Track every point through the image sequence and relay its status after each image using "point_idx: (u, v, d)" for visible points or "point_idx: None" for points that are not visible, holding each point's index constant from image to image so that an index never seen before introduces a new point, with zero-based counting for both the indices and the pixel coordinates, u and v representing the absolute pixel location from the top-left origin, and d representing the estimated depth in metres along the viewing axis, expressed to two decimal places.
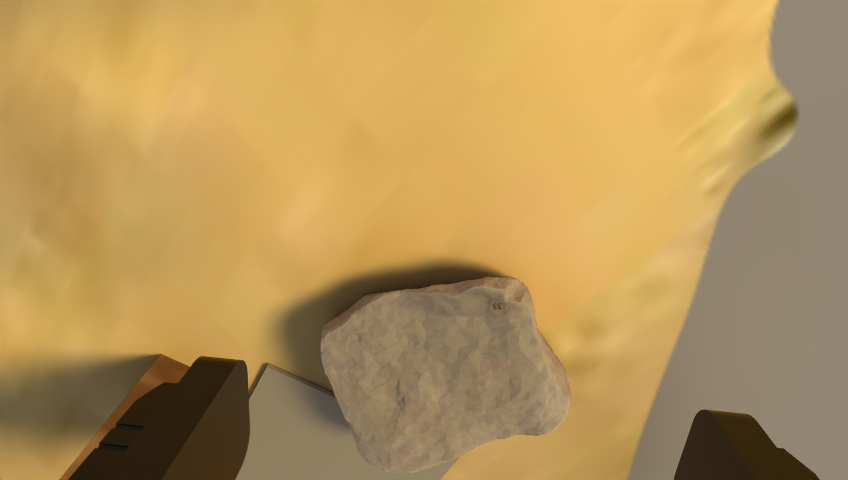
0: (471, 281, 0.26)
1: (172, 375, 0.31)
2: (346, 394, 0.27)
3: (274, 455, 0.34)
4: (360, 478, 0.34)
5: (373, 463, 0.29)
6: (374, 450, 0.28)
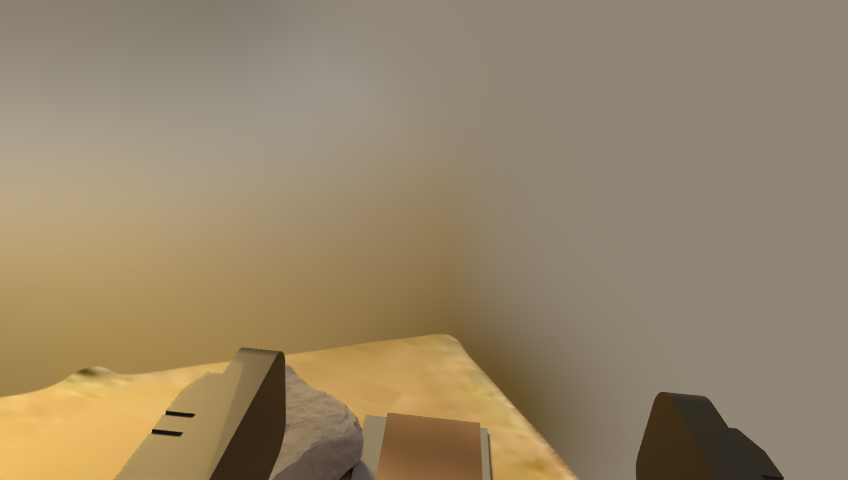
0: None
1: None
2: (287, 458, 0.35)
3: None
4: None
5: (347, 426, 0.37)
6: (327, 424, 0.37)
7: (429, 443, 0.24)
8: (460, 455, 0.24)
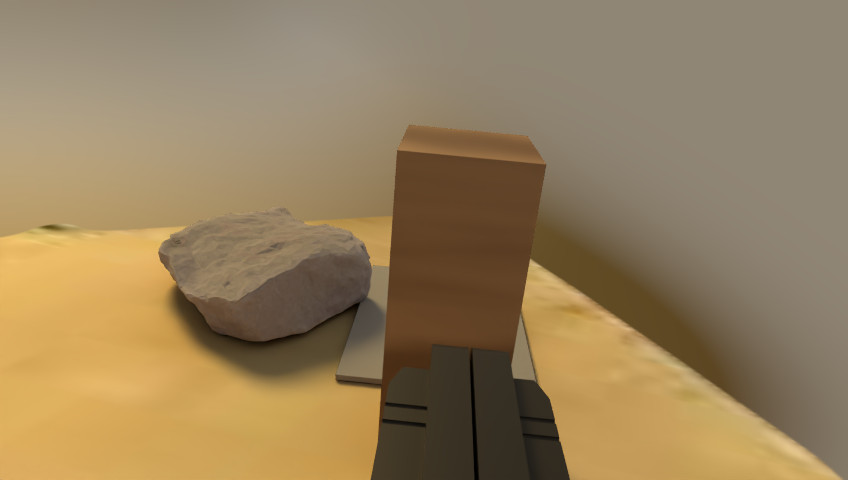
0: (162, 261, 0.32)
1: None
2: (282, 266, 0.29)
3: None
4: None
5: (353, 245, 0.32)
6: (329, 240, 0.31)
7: (466, 138, 0.19)
8: (507, 145, 0.18)
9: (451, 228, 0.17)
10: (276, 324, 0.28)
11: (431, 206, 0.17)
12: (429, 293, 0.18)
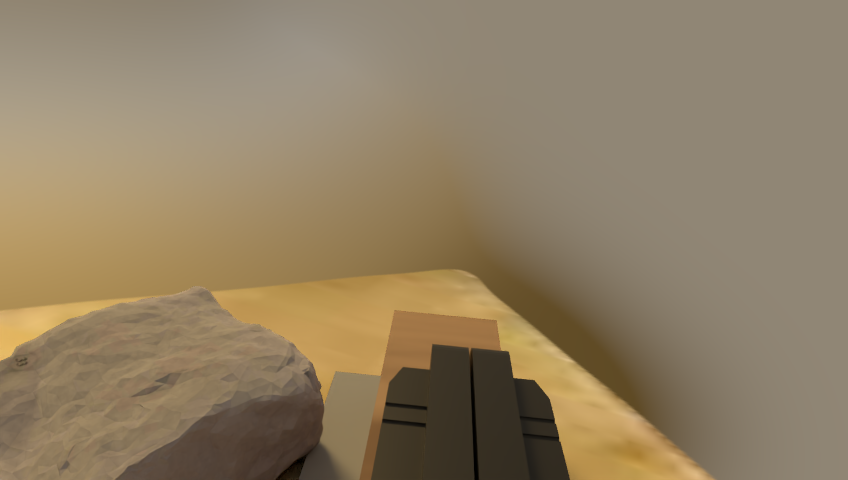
0: None
1: None
2: (160, 433, 0.17)
3: None
4: None
5: (291, 375, 0.20)
6: (251, 372, 0.19)
7: None
8: None
9: (435, 343, 0.21)
10: None
11: (419, 332, 0.22)
12: None
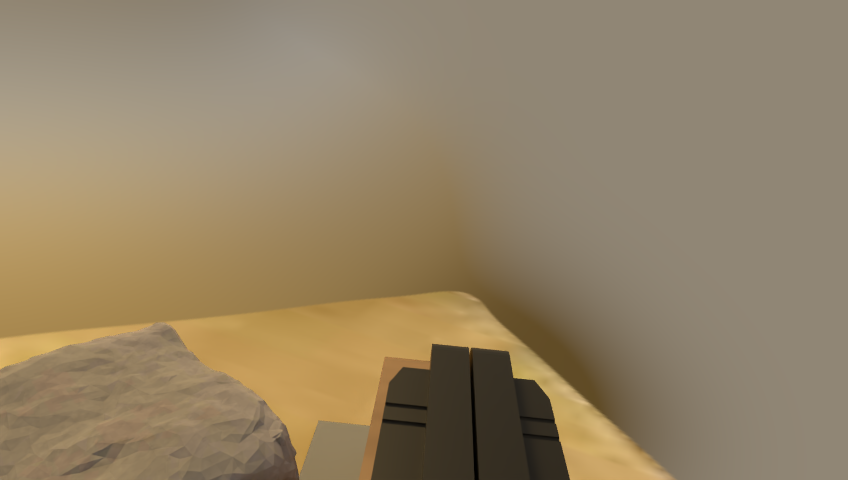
0: None
1: None
2: None
3: None
4: None
5: (258, 446, 0.17)
6: (207, 444, 0.16)
7: None
8: None
9: None
10: None
11: None
12: None
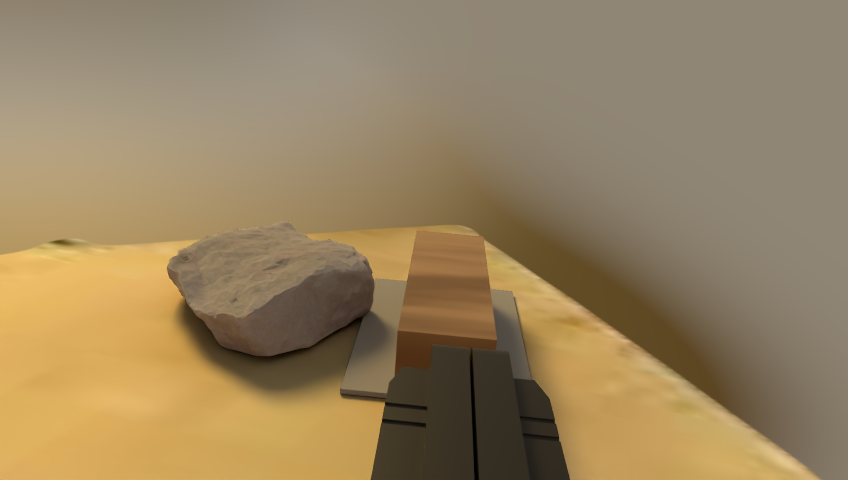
0: (170, 277, 0.33)
1: None
2: (287, 283, 0.30)
3: None
4: None
5: (356, 261, 0.33)
6: (333, 256, 0.32)
7: None
8: None
9: (443, 246, 0.34)
10: (282, 339, 0.29)
11: (433, 241, 0.35)
12: (435, 260, 0.32)
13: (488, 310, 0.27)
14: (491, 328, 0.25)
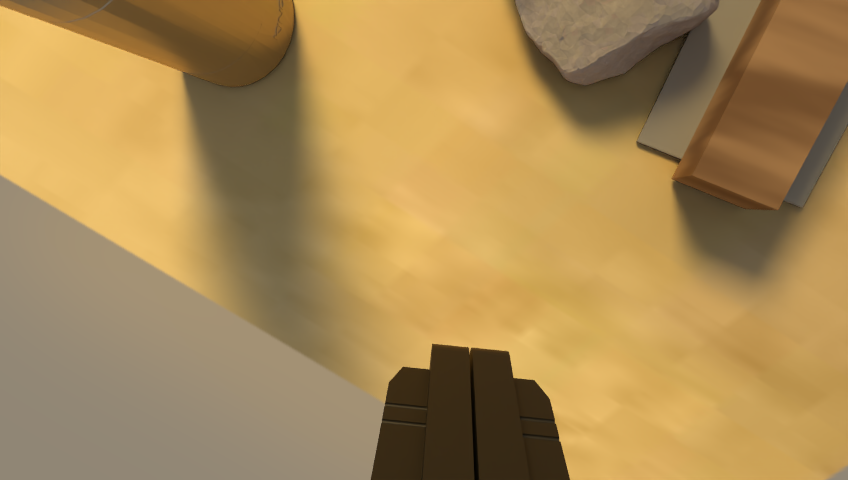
0: None
1: (694, 157, 0.29)
2: (615, 37, 0.29)
3: None
4: None
5: None
6: None
7: None
8: None
9: None
10: (599, 77, 0.32)
11: None
12: (797, 32, 0.27)
13: (799, 159, 0.27)
14: (783, 191, 0.27)
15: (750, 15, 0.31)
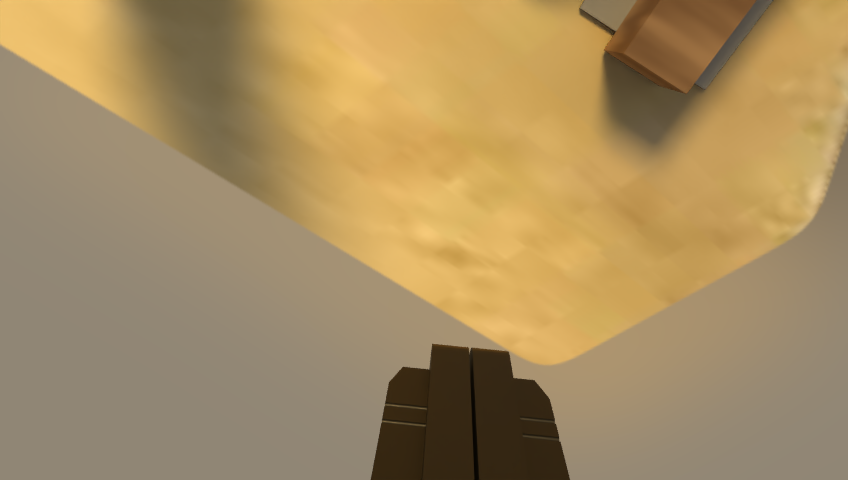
0: None
1: (629, 35, 0.32)
2: None
3: None
4: None
5: None
6: None
7: None
8: None
9: None
10: None
11: None
12: None
13: (714, 49, 0.30)
14: (694, 77, 0.31)
15: None
